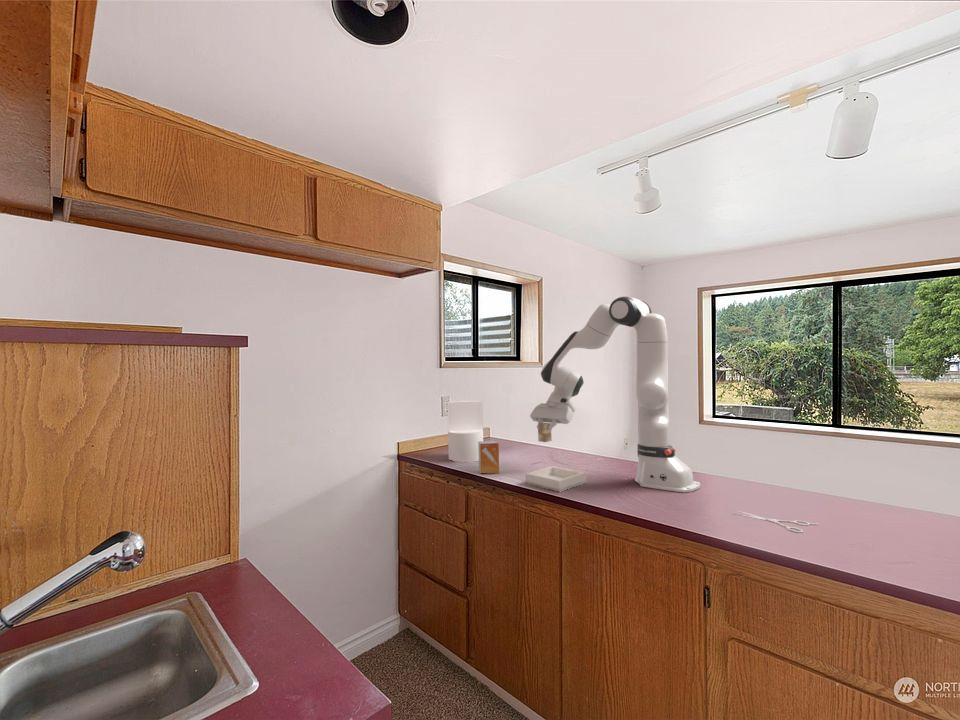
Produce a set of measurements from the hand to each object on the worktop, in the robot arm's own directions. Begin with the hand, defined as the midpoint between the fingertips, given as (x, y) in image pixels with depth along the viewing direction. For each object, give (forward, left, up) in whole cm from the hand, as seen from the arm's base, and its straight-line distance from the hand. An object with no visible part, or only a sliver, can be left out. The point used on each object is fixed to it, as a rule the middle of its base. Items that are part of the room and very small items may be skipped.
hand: (543, 429), depth 188 cm
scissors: (-84, +1, -19) cm, 86 cm away
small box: (+16, +17, -18) cm, 30 cm away
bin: (-16, +12, -18) cm, 27 cm away
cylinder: (+44, +6, -18) cm, 48 cm away
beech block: (0, -1, -5) cm, 5 cm away
